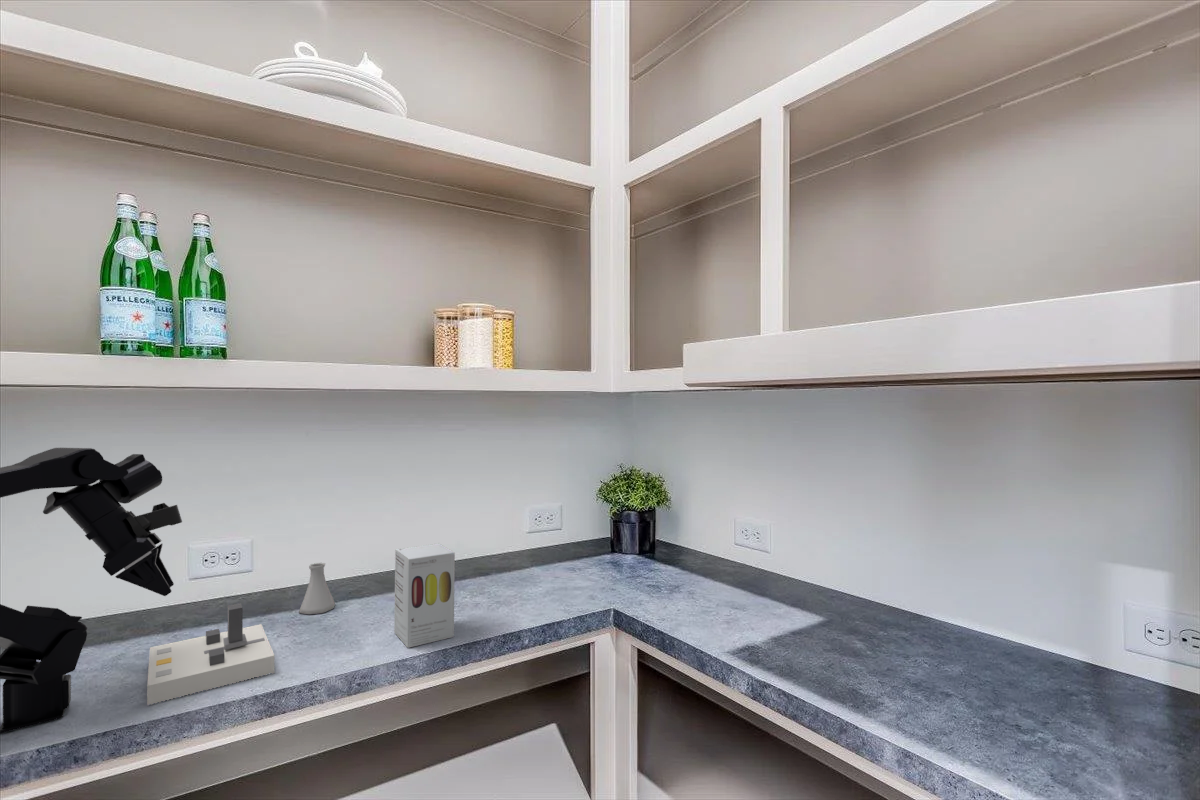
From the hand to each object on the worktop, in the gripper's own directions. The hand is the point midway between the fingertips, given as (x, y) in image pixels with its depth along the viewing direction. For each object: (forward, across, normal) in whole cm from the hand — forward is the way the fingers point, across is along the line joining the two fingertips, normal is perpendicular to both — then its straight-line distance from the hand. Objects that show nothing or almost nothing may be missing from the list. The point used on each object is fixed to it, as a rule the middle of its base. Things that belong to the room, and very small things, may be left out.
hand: (169, 590), depth 95 cm
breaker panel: (+15, +2, +3) cm, 16 cm away
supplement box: (+36, -5, -25) cm, 44 cm away
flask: (+24, +23, -14) cm, 36 cm away
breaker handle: (+15, +2, -1) cm, 15 cm away
